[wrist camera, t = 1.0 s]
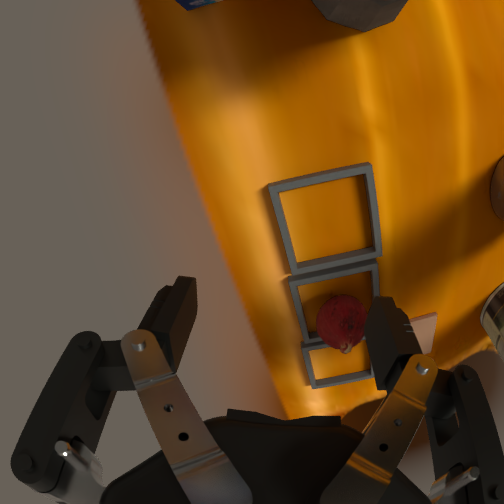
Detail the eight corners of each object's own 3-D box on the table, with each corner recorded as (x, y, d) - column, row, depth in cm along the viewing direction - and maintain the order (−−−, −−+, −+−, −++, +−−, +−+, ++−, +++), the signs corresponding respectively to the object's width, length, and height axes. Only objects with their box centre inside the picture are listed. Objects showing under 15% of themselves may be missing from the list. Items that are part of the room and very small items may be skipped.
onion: (323, 276, 33) (332, 325, 26) (368, 286, 33) (385, 334, 26) (307, 314, 36) (311, 364, 29) (349, 322, 36) (360, 370, 29)
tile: (435, 311, 34) (437, 314, 34) (429, 349, 38) (430, 352, 37) (383, 326, 36) (384, 329, 35) (382, 362, 40) (383, 365, 39)
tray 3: (374, 326, 36) (376, 333, 35) (374, 370, 41) (375, 376, 40) (300, 341, 38) (301, 348, 37) (311, 383, 43) (312, 389, 42)
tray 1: (368, 161, 26) (371, 164, 25) (379, 250, 31) (382, 256, 30) (268, 183, 28) (267, 187, 27) (291, 269, 33) (292, 275, 32)
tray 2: (374, 257, 31) (377, 263, 30) (378, 321, 36) (380, 328, 35) (288, 276, 33) (288, 282, 32) (304, 337, 38) (304, 343, 37)
